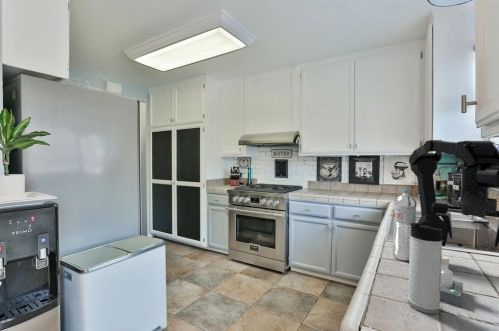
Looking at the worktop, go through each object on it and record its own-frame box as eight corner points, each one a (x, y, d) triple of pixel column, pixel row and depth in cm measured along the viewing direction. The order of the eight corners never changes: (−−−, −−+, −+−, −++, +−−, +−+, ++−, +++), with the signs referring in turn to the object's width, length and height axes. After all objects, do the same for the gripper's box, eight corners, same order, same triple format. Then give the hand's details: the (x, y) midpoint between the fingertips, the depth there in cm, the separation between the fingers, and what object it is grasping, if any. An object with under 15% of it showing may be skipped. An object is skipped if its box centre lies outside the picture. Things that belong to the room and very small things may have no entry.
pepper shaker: (427, 288, 70) (428, 254, 70) (439, 287, 71) (440, 253, 71) (441, 296, 66) (442, 260, 66) (453, 295, 67) (454, 259, 67)
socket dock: (422, 280, 75) (423, 271, 75) (462, 291, 69) (463, 281, 69) (416, 293, 68) (416, 282, 68) (460, 306, 61) (461, 294, 61)
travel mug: (400, 300, 64) (403, 220, 64) (425, 299, 64) (428, 220, 64) (418, 315, 58) (422, 227, 57) (446, 314, 58) (449, 227, 58)
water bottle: (416, 263, 88) (418, 191, 88) (393, 259, 91) (396, 190, 91) (412, 257, 94) (415, 189, 94) (391, 253, 97) (394, 188, 97)
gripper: (429, 184, 71) (427, 240, 71) (528, 191, 58) (525, 259, 58) (434, 183, 79) (432, 233, 79) (522, 188, 66) (520, 248, 67)
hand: (472, 242), depth 71 cm, fingers open, 9 cm apart
